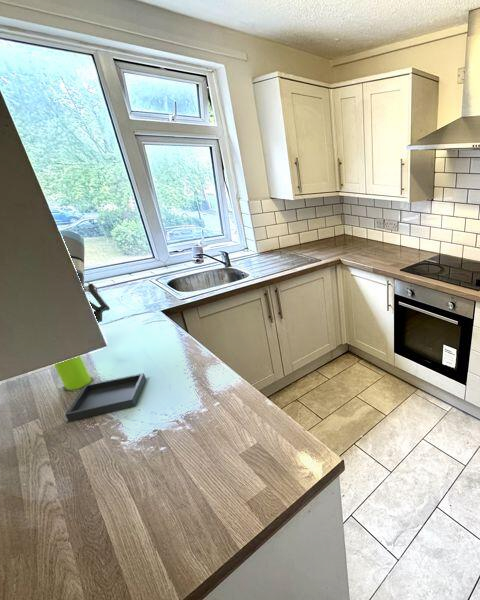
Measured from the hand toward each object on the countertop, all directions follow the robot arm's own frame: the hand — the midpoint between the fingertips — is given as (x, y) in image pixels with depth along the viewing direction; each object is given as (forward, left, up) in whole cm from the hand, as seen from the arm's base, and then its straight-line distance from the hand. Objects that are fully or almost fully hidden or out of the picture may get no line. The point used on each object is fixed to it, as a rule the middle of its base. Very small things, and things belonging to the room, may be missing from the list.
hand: (67, 336), depth 100 cm
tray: (+11, -16, -15) cm, 25 cm away
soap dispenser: (0, -4, -15) cm, 16 cm away
